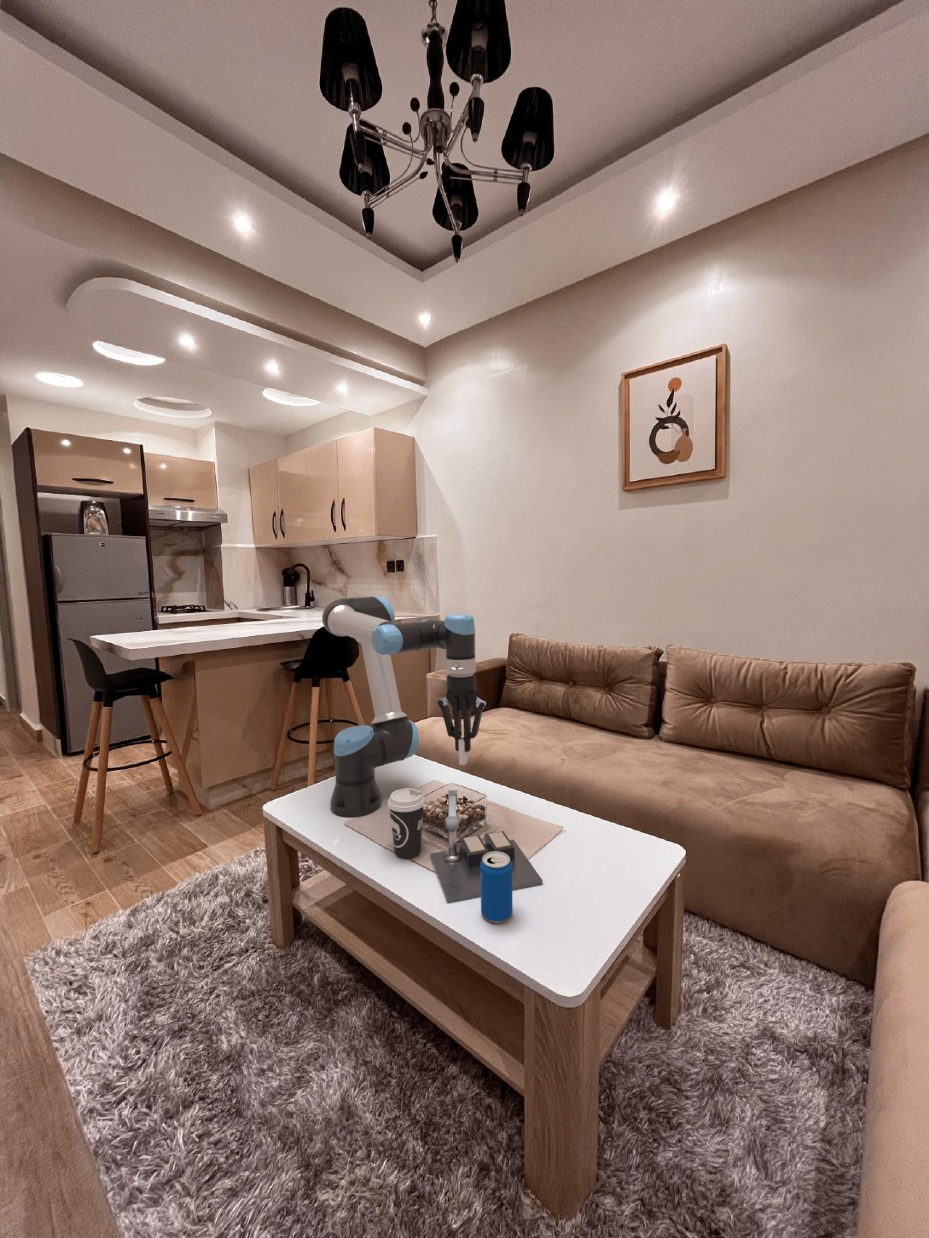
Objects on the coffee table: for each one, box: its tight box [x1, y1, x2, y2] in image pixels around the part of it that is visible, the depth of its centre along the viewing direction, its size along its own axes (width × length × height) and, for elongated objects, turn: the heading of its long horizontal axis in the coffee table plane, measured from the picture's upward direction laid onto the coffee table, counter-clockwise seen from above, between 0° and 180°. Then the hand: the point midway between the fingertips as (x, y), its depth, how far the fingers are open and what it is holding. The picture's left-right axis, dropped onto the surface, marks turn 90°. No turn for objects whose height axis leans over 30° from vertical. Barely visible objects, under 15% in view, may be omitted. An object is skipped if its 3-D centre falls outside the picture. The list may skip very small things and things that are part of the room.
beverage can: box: [480, 851, 514, 924], centre depth 102 cm, size 6×6×12 cm
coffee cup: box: [386, 787, 426, 860], centre depth 125 cm, size 10×10×15 cm
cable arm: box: [445, 789, 460, 831], centre depth 129 cm, size 3×18×2 cm, turn 1°
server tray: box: [429, 830, 543, 904], centre depth 118 cm, size 18×22×8 cm
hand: (463, 762), depth 131 cm, fingers closed
